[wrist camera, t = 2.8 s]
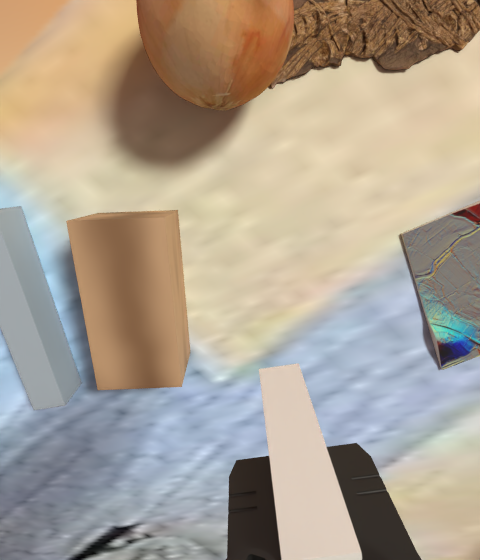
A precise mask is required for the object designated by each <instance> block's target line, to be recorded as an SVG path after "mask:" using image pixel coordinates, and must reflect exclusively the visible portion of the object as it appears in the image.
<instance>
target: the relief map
mask: <svg viewBox="0 0 480 560" xmlns="http://www.w3.org/2000/svg"><path fill="white" fill-rule="evenodd" d="M401 236H402V240H403V243H404V246H405V250H406V253H407V257H408V260H409V263H410V267H411V270H412V273H413V277H414V280H415V284H416V287H417V290H418V294H419V297H420V300H421V304H422V307H423V311H424V314H425V317H426V321H427V324H428V328H429V331H430V334H431V338H432V341H433V344H434V348H435V351H436V355H437V358H438V361H439V365H440V368H441V369H442V370H444V369H446V368H449V367H452V366H454V365H457V364H459V363H462V362H465V361H467V360H470V359H473V358H475V357H478V356H480V201H478V202H475V203H473V204H471V205H468V206H466V207H463V208H461V209H459V210H456V211H454V212H451V213H449V214H447V215H444V216H442V217H440V218H437V219H435V220H432V221H430V222H428V223H425V224H423V225H420V226H418V227H416V228H413V229H411V230H408V231H406V232H404V233H401Z"/></svg>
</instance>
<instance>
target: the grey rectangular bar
mask: <svg viewBox="0 0 480 560" xmlns="http://www.w3.org/2000/svg"><path fill="white" fill-rule="evenodd" d="M0 328H1V330H2V333H3V335H4V338H5V340H6V343H7V345H8V347H9V350H10V352H11V355H12V357H13V360H14V362H15V365H16V367H17V370H18V372H19V375H20V377H21V380H22V382H23V385H24V387H25V390H26V392H27V395H28V397H29V400H30V402H31V404H32V407H33V409H34V410H38V409H45V408H52V407H59V406H65V405H66V404H67V403H68V401H69V400H70V399H71V397H72V396H73V394H74V393H75V392H76V390H77V389H78V388H79V386H80V385H81V384H82V382H81V379H80V376H79V373H78V371H77V368H76V365H75V362H74V359H73V356H72V353H71V350H70V347H69V344H68V341H67V338H66V336H65V333H64V330H63V327H62V324H61V321H60V318H59V315H58V312H57V309H56V306H55V304H54V301H53V298H52V295H51V292H50V289H49V286H48V283H47V280H46V277H45V274H44V271H43V269H42V266H41V263H40V260H39V257H38V254H37V251H36V248H35V245H34V242H33V239H32V237H31V234H30V231H29V228H28V225H27V222H26V219H25V216H24V213H23V210H22V207H21V206H18V207H10V208H2V209H0Z"/></svg>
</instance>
